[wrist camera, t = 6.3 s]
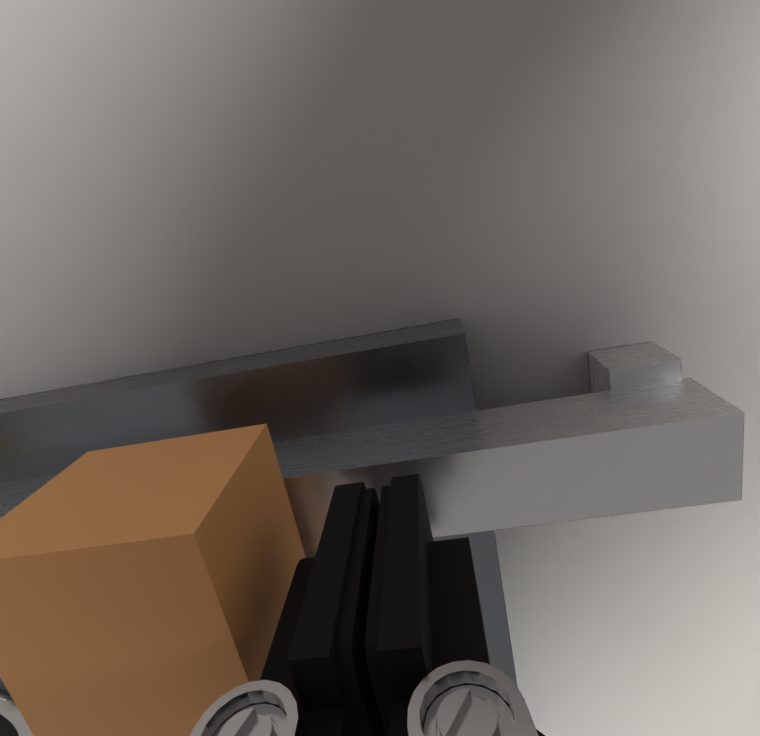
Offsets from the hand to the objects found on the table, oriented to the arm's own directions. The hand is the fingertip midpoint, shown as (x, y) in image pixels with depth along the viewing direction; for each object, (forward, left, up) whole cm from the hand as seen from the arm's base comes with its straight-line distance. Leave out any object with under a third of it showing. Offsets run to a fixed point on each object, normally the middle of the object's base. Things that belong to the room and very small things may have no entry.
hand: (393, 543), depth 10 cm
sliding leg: (+4, +3, -2) cm, 6 cm away
